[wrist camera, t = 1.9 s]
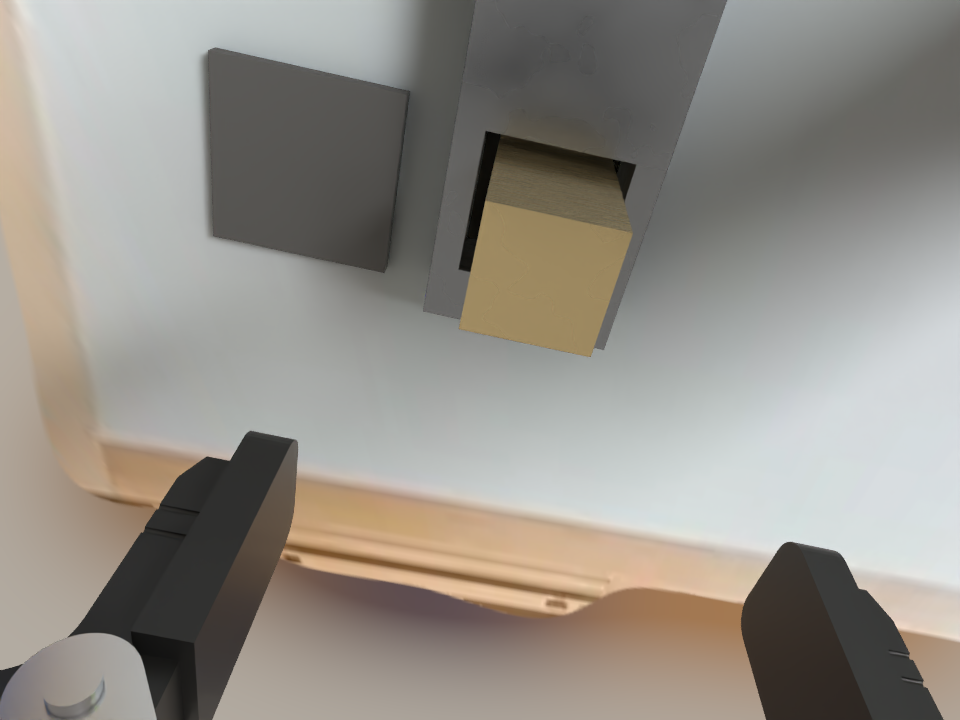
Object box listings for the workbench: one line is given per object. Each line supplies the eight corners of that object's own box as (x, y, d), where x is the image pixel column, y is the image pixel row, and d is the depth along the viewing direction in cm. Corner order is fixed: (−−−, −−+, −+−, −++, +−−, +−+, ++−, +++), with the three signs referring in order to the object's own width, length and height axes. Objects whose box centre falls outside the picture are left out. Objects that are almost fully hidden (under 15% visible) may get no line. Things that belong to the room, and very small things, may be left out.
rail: (842, -415, 17) (895, -477, 14) (598, 312, 28) (603, 349, 25) (567, -485, 16) (570, -560, 14) (434, 276, 28) (423, 311, 25)
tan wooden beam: (609, 150, 24) (633, 233, 18) (580, 249, 27) (590, 356, 20) (502, 126, 24) (485, 200, 18) (481, 228, 26) (458, 329, 20)
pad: (409, 91, 24) (406, 94, 23) (387, 266, 28) (384, 272, 27) (215, 47, 24) (208, 50, 23) (219, 230, 27) (213, 236, 27)
